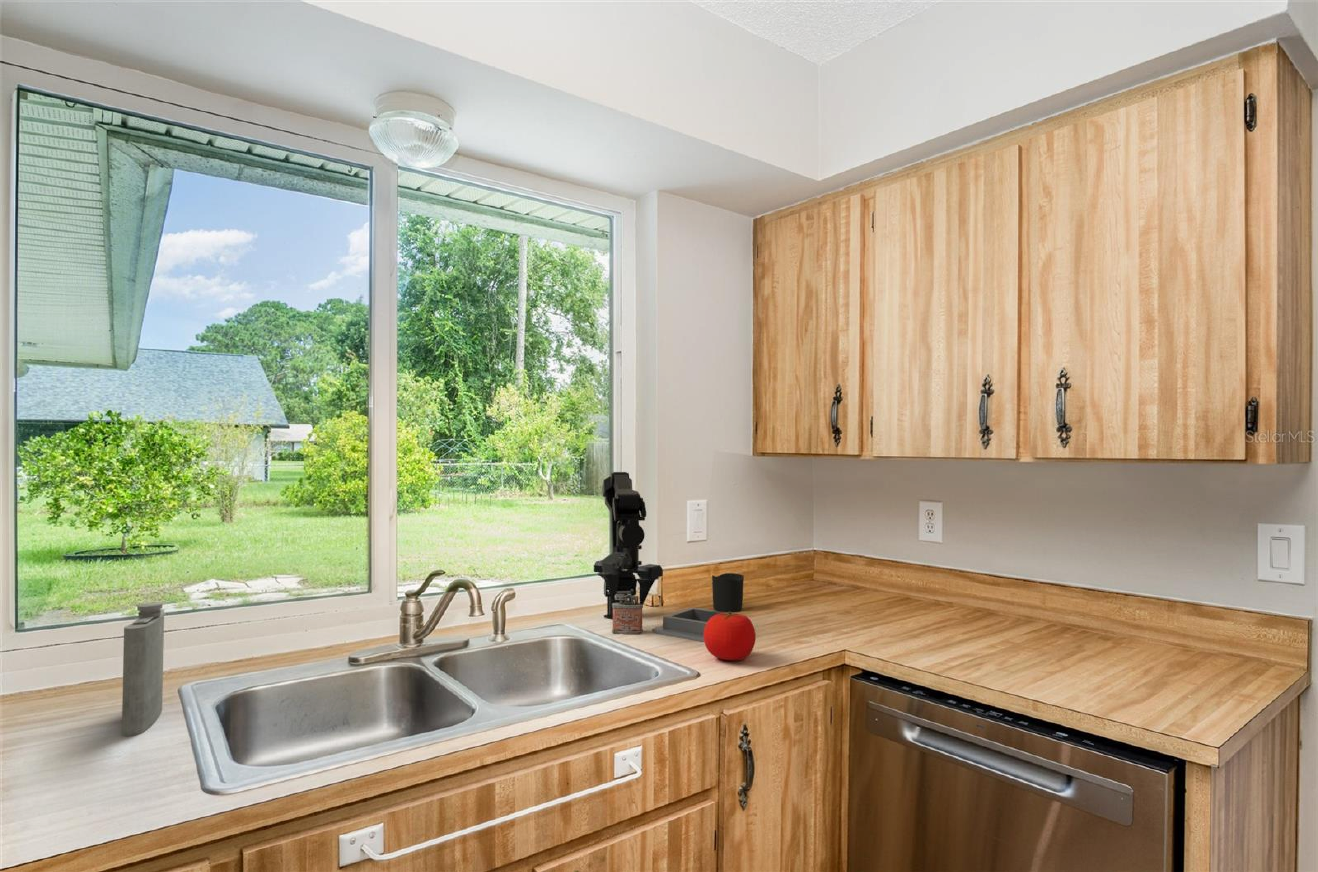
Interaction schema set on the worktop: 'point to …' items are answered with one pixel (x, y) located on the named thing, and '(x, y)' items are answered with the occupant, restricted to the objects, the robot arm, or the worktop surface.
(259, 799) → the worktop surface
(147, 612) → the hip flask
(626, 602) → the lighter
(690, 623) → the stand
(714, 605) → the pen holder
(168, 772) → the worktop surface
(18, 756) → the worktop surface
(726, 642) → the tomato
